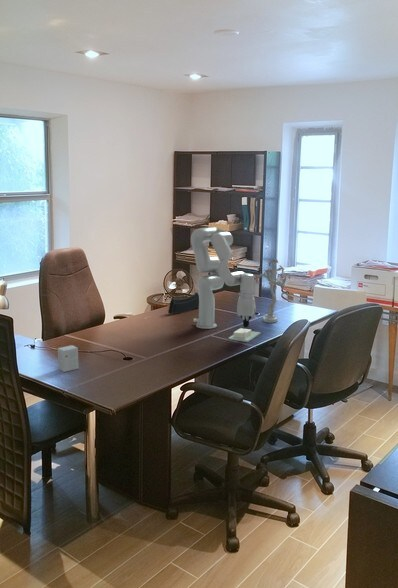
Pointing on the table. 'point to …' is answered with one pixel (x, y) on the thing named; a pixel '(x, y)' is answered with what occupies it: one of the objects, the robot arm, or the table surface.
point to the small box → (68, 358)
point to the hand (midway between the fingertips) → (245, 326)
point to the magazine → (184, 304)
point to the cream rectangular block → (242, 333)
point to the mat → (247, 339)
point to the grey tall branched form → (273, 282)
